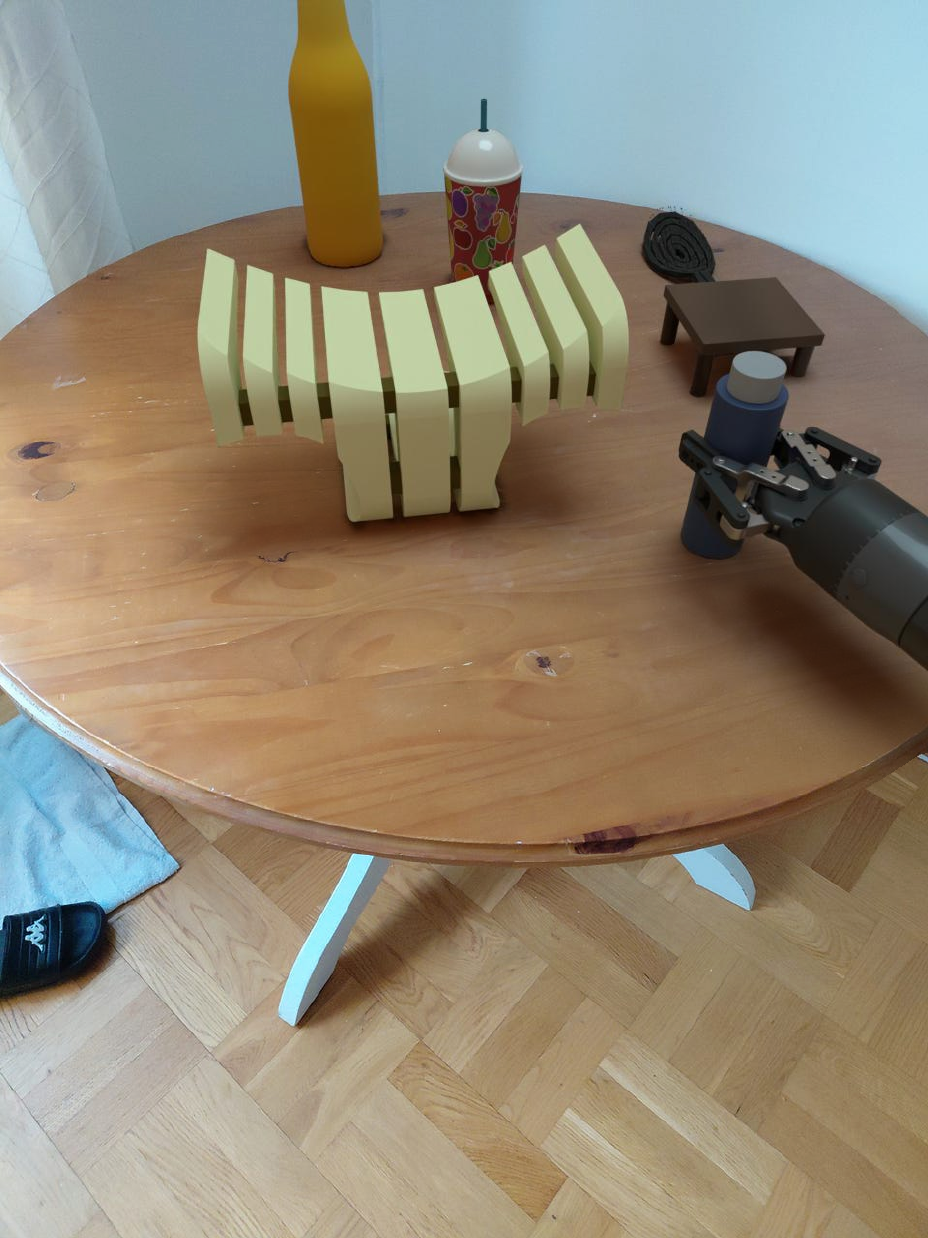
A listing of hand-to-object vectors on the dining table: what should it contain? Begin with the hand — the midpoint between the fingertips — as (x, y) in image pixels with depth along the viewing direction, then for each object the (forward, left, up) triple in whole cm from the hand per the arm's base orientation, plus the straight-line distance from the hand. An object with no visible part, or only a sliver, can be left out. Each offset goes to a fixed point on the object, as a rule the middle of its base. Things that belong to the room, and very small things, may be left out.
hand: (713, 430), depth 66 cm
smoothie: (+11, -43, -9) cm, 45 cm away
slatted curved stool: (+22, -10, -9) cm, 26 cm away
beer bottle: (+26, -56, -9) cm, 62 cm away
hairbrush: (-14, -42, -9) cm, 45 cm away
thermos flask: (-1, +2, -9) cm, 9 cm away
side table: (-12, -24, -9) cm, 28 cm away
